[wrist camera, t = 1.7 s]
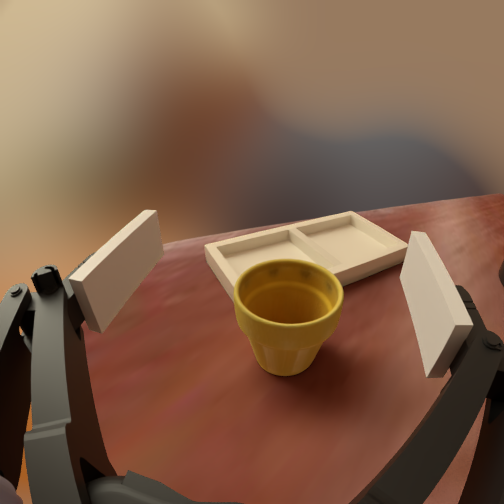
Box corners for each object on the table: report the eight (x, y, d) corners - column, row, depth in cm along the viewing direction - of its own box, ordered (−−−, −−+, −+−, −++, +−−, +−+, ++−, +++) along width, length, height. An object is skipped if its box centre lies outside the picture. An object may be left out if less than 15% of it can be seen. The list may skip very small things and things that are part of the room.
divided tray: (349, 224, 62) (351, 210, 60) (406, 260, 49) (410, 245, 48) (206, 260, 51) (204, 244, 49) (246, 321, 38) (245, 303, 37)
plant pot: (258, 405, 28) (258, 340, 23) (226, 337, 36) (219, 270, 31) (346, 370, 31) (366, 304, 26) (302, 314, 39) (309, 249, 34)
